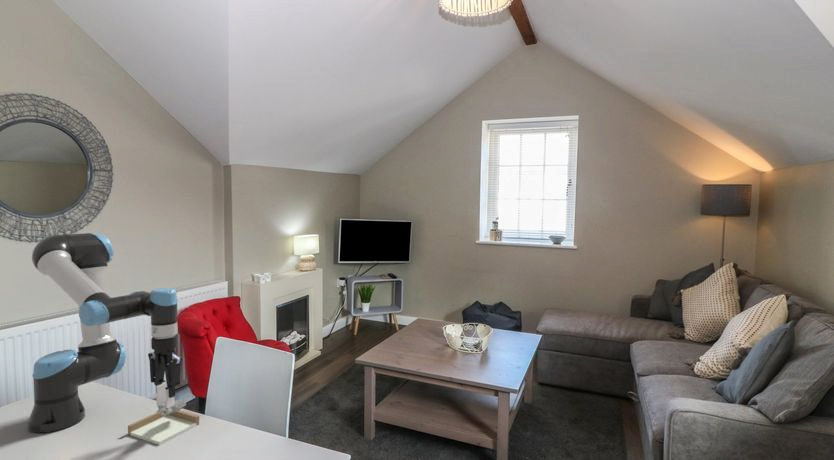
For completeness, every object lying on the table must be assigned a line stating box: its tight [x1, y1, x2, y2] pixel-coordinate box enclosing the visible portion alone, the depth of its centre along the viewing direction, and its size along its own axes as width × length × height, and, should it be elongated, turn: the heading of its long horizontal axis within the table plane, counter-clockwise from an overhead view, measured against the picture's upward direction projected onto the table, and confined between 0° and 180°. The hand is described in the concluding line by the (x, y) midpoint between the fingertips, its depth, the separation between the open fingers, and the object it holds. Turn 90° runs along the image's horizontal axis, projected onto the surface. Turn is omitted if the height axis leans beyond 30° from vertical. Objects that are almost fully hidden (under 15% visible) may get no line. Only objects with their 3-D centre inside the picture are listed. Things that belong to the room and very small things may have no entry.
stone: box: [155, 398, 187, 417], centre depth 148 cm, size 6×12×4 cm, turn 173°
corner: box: [127, 409, 200, 446], centre depth 148 cm, size 15×15×3 cm
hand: (165, 404), depth 145 cm, fingers closed on stone, 4 cm apart
